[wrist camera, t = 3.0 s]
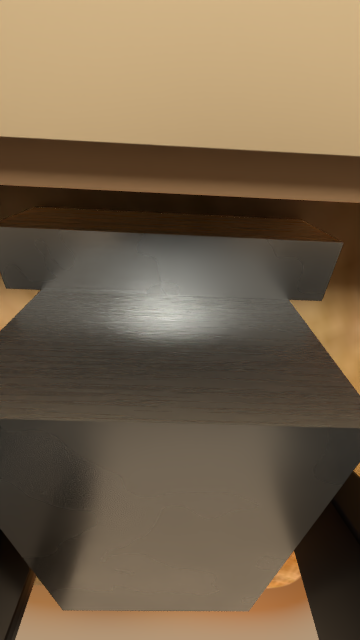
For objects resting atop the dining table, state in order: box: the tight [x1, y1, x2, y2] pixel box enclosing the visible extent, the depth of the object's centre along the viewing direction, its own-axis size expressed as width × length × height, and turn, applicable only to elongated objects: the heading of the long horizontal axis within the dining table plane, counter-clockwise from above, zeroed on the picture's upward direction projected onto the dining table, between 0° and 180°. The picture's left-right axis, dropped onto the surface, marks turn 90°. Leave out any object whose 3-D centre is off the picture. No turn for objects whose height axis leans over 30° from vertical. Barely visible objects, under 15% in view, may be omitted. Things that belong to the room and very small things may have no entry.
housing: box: [0, 207, 360, 611], centre depth 7 cm, size 10×6×5 cm, turn 177°
